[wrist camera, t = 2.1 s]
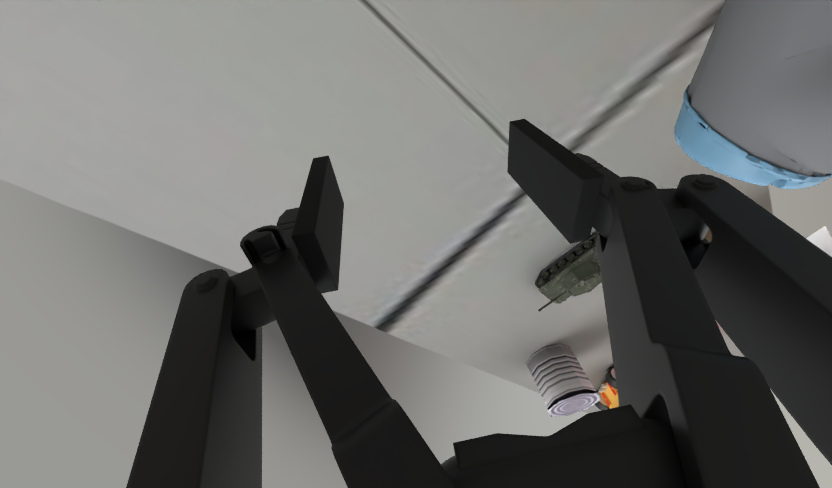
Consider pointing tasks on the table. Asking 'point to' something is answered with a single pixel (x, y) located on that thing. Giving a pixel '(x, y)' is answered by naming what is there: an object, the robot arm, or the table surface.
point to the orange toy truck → (608, 392)
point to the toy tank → (571, 273)
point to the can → (561, 381)
